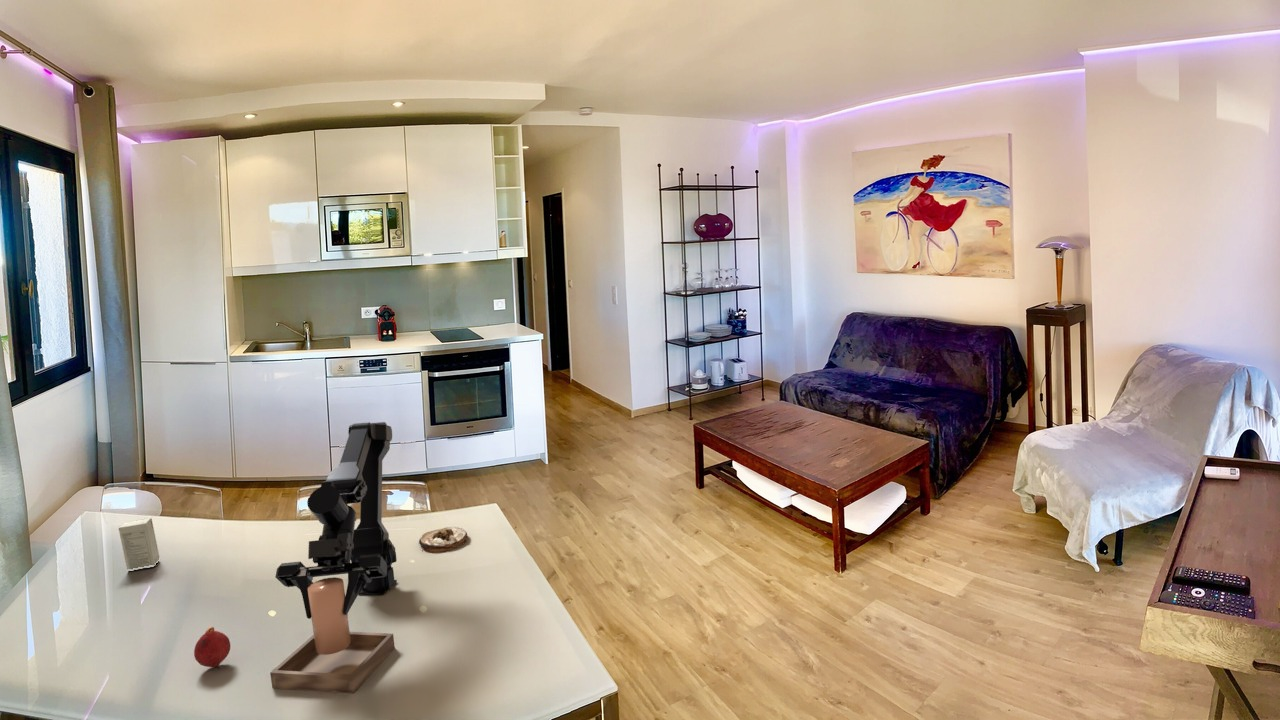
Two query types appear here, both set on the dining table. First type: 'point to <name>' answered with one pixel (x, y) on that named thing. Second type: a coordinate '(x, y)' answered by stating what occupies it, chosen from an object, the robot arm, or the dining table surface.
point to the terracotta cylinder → (329, 616)
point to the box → (333, 664)
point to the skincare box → (139, 543)
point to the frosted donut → (443, 539)
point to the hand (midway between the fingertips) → (326, 616)
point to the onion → (211, 648)
